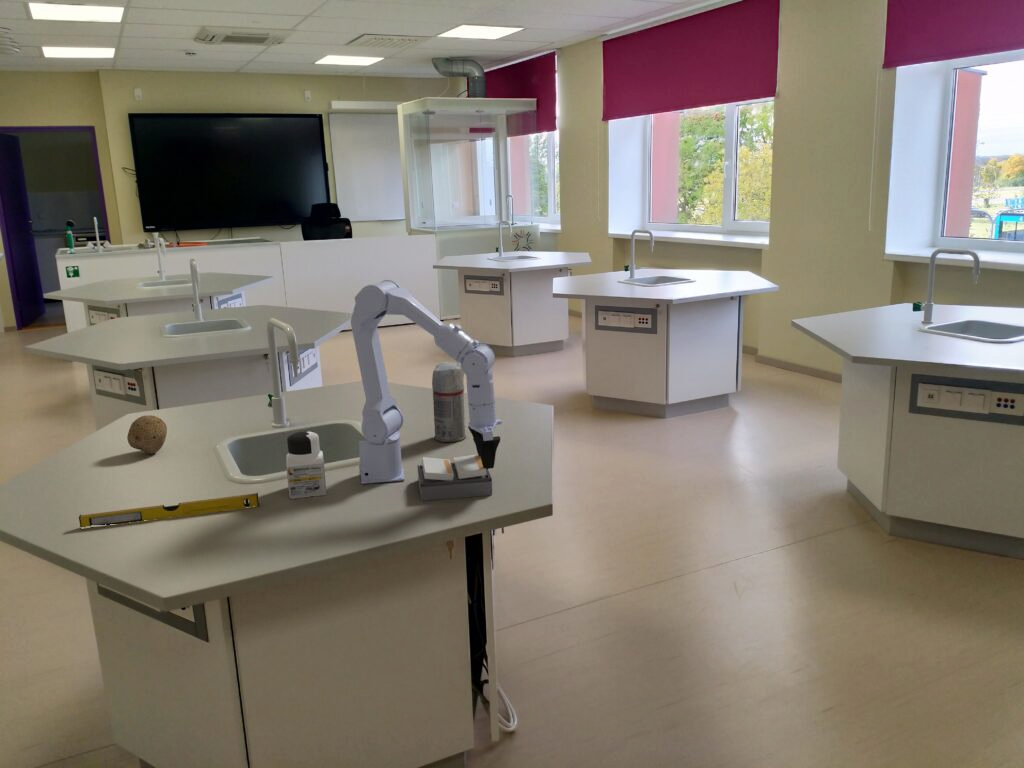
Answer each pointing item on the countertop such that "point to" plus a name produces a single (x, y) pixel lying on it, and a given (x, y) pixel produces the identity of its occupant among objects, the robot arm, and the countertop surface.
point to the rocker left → (437, 469)
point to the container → (305, 466)
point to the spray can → (448, 402)
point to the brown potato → (147, 434)
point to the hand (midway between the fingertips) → (486, 462)
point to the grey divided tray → (453, 486)
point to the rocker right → (469, 466)
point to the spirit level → (169, 510)
